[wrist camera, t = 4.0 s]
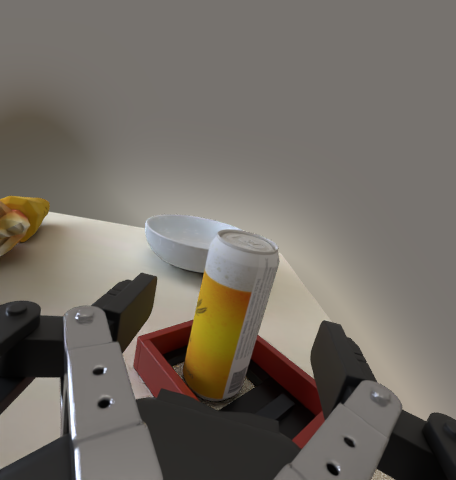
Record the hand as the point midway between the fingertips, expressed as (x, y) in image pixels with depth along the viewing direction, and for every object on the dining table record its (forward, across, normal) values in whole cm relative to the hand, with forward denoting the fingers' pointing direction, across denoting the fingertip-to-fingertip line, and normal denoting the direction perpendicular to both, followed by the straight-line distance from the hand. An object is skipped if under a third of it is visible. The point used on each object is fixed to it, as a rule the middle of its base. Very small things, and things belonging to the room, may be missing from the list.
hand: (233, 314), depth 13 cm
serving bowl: (+40, +8, +14) cm, 43 cm away
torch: (+30, +37, +14) cm, 50 cm away
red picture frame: (+10, -2, +14) cm, 17 cm away
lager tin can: (+11, 0, +14) cm, 18 cm away
